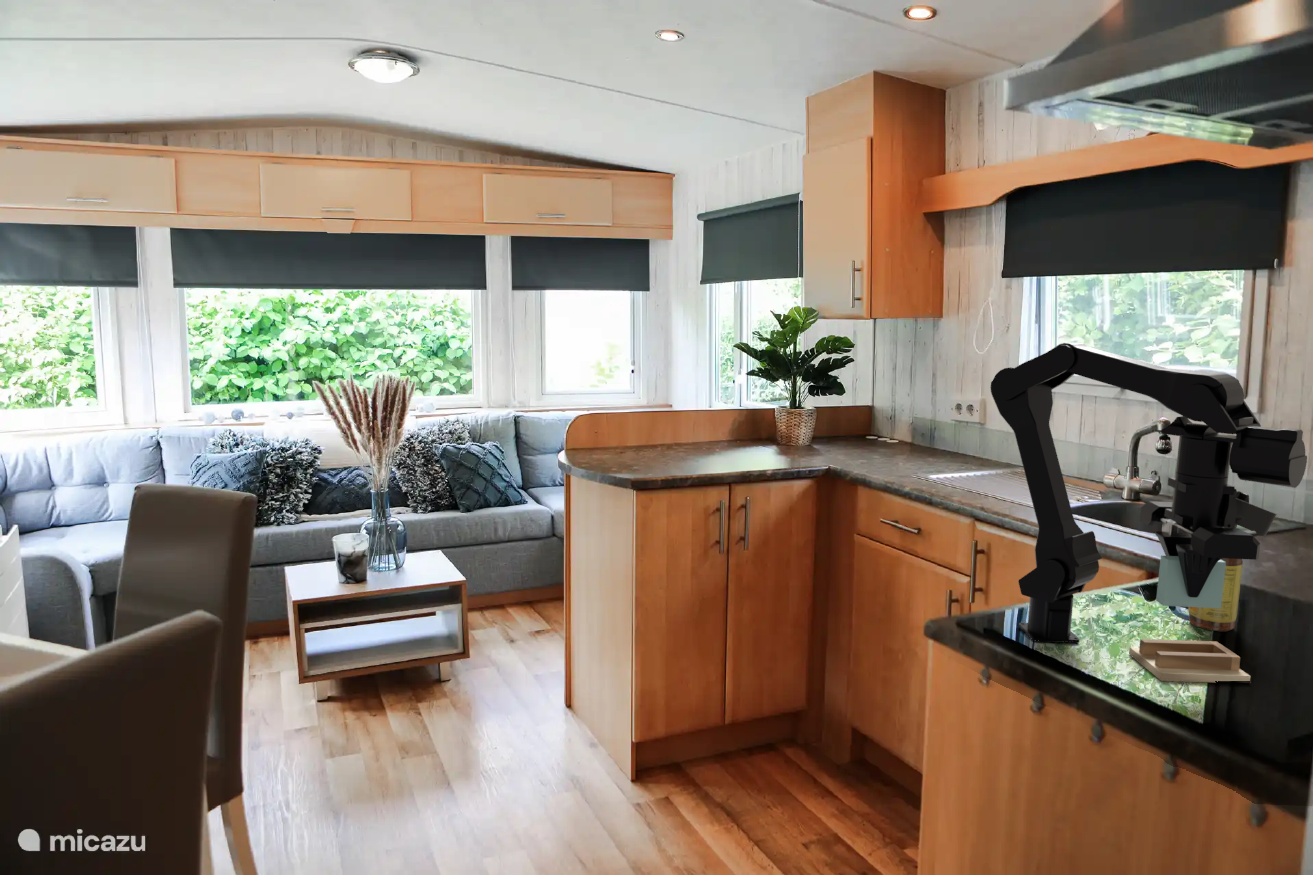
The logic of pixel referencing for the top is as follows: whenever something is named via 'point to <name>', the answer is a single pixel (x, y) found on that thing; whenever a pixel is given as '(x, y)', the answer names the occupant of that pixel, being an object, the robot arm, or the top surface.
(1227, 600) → the sauce bottle
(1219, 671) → the track board
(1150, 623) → the top surface
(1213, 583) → the slider block
